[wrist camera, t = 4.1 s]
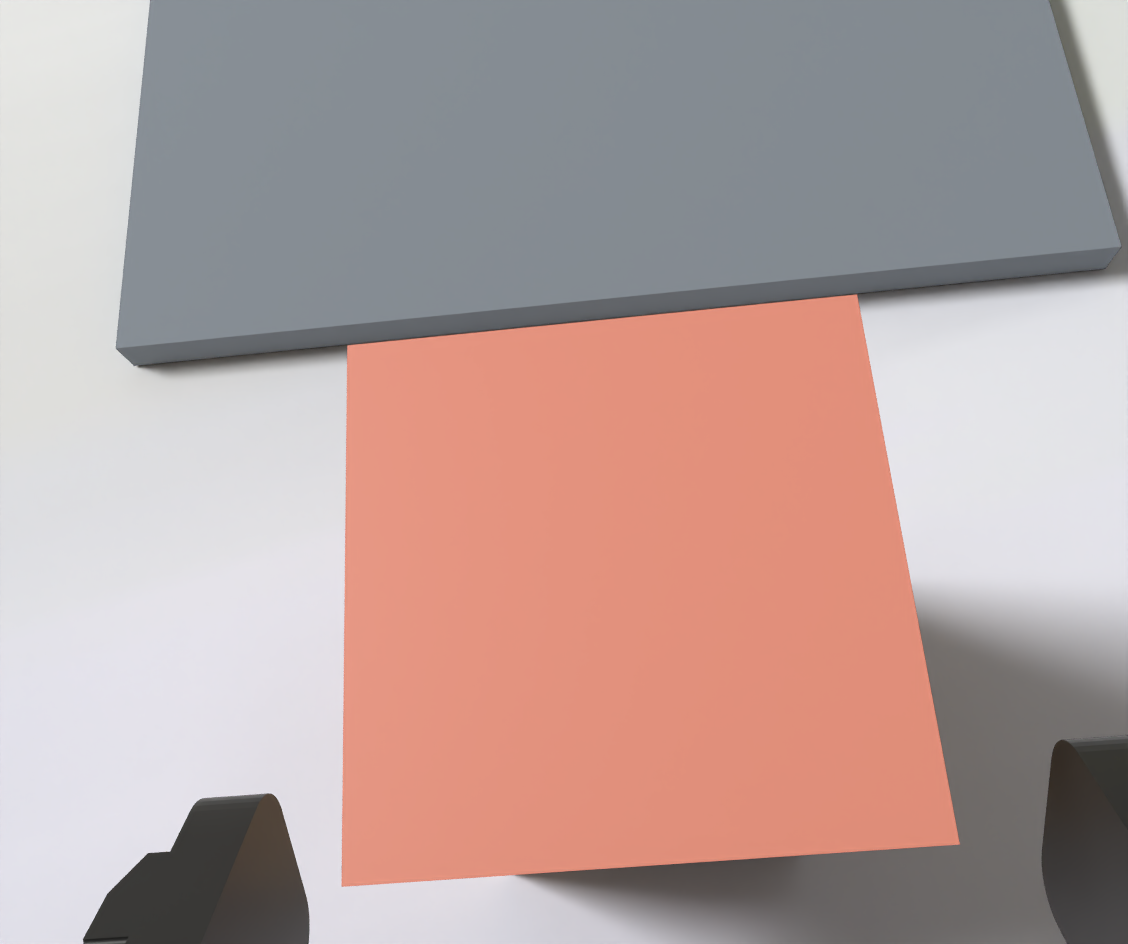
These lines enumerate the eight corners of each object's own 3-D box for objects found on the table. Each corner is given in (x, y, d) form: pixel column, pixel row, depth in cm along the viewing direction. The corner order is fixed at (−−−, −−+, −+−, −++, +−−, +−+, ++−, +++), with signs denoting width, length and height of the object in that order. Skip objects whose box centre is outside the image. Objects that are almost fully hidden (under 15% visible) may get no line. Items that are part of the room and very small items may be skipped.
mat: (134, 365, 22) (115, 348, 21) (178, -120, 27) (164, -148, 26) (1104, 268, 21) (1121, 246, 20) (965, -221, 26) (974, -253, 25)
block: (509, 873, 18) (341, 885, 9) (497, 589, 20) (347, 344, 10) (802, 852, 18) (960, 845, 8) (763, 567, 19) (857, 294, 10)
